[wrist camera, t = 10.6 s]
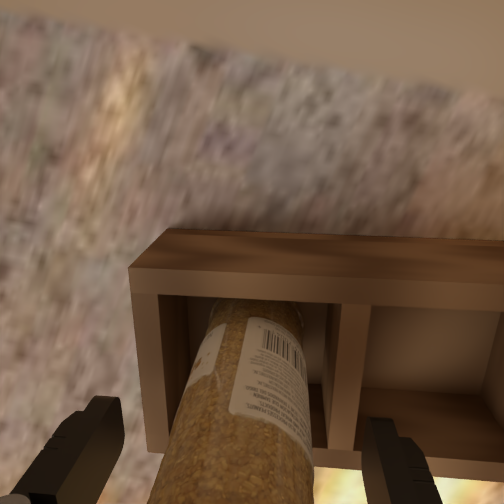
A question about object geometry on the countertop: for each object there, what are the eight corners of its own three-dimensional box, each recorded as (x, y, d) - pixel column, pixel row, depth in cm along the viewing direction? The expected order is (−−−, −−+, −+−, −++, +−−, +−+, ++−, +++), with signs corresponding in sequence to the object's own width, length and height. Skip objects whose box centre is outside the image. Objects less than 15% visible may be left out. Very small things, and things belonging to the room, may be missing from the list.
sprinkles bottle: (194, 299, 19) (6, 682, 6) (283, 264, 18) (269, 638, 5) (235, 374, 20) (148, 817, 8) (320, 345, 19) (381, 802, 7)
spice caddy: (177, 380, 22) (147, 452, 17) (167, 228, 19) (127, 267, 14) (489, 401, 20) (545, 486, 16) (531, 242, 17) (615, 289, 13)
